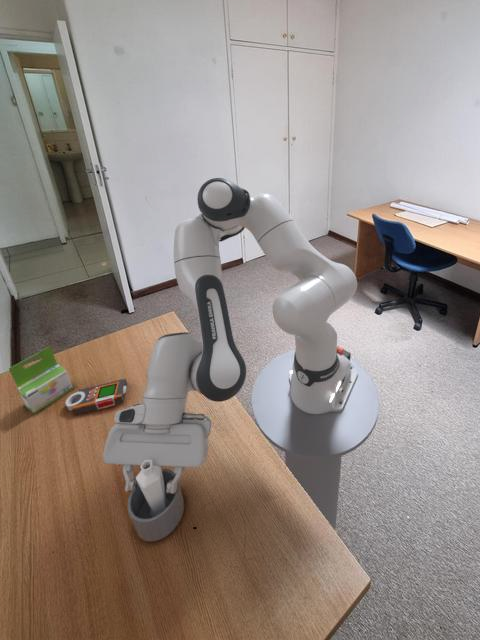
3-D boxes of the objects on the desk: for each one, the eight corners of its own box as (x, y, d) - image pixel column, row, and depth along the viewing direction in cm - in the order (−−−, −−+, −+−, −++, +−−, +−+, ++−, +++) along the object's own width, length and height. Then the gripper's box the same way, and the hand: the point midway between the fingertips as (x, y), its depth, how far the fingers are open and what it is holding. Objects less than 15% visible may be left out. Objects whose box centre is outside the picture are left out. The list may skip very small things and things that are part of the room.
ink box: (33, 415, 88) (14, 377, 82) (25, 406, 91) (6, 368, 85) (74, 388, 96) (59, 352, 90) (65, 380, 99) (50, 344, 93)
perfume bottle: (149, 502, 69) (134, 457, 63) (171, 494, 70) (158, 450, 64) (147, 527, 65) (130, 481, 59) (170, 519, 66) (157, 473, 60)
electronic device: (69, 391, 92) (126, 377, 96) (72, 398, 93) (129, 384, 97) (60, 411, 86) (122, 396, 90) (64, 419, 88) (125, 403, 91)
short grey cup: (168, 478, 74) (162, 459, 71) (193, 508, 68) (188, 489, 65) (126, 517, 67) (118, 498, 64) (150, 554, 62) (143, 534, 59)
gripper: (216, 411, 71) (208, 488, 66) (124, 408, 71) (109, 483, 67) (207, 416, 65) (198, 500, 60) (107, 412, 66) (90, 495, 61)
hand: (150, 491), depth 63 cm, fingers open, 7 cm apart
